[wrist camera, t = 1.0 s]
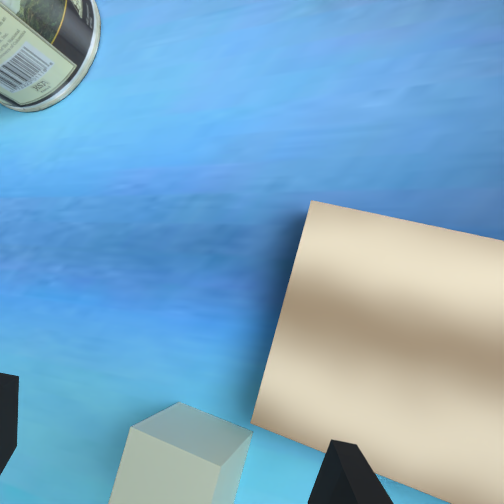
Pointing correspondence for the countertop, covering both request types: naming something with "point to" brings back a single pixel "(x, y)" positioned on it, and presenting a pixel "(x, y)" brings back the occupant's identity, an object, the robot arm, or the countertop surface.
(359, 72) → the countertop surface
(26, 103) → the coffee can
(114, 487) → the sage block
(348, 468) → the robot arm
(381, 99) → the countertop surface
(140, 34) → the countertop surface
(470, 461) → the birch slab
